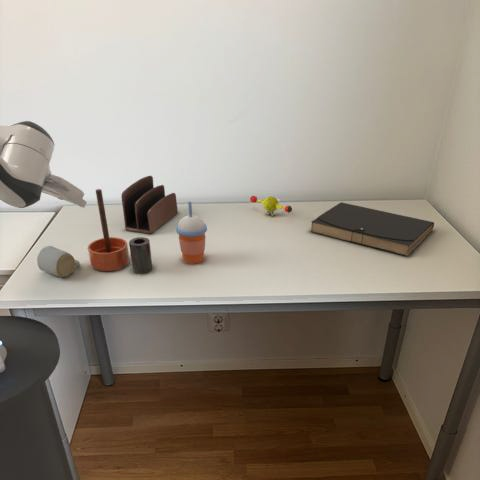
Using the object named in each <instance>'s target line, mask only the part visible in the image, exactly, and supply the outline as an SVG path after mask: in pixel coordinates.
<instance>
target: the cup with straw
mask: <svg viewBox="0 0 480 480" xmlns="http://www.w3.org/2000/svg"><path fill="white" fill-rule="evenodd" d="M187 205H188V206H187V207H188V215H185V216H184V217H182V218H181V219H180V220H179V222H178V224H177V225H176V227H175V232H176V234H178V242H179V247H180V251H181V254H182V255H181V256H182V260H183V262H185V263H186V264H189V265H191V264H192V265H194V264H199V263H202V262H203V261H204V260H205V250H206V233H207V231H208V225H207V224H206V223H205V221H203V219H202V218H201V217H199V216H197V215H194V214H193V210H192V209H193V208H192V207H193V206H192V201H188V203H187Z"/></svg>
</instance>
